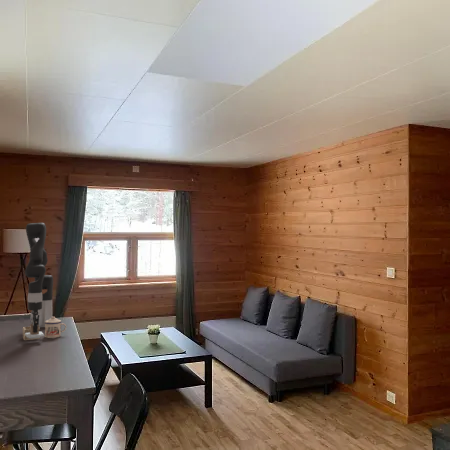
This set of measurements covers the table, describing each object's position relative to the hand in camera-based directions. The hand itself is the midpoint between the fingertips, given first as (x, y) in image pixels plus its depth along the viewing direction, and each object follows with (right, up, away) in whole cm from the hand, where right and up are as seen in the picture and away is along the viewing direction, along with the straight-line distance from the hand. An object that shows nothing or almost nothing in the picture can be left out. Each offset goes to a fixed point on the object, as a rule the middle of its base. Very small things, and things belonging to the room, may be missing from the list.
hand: (34, 331), depth 259 cm
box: (-6, -6, +10) cm, 13 cm away
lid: (0, -2, 0) cm, 2 cm away
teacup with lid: (+6, -7, +15) cm, 18 cm away
